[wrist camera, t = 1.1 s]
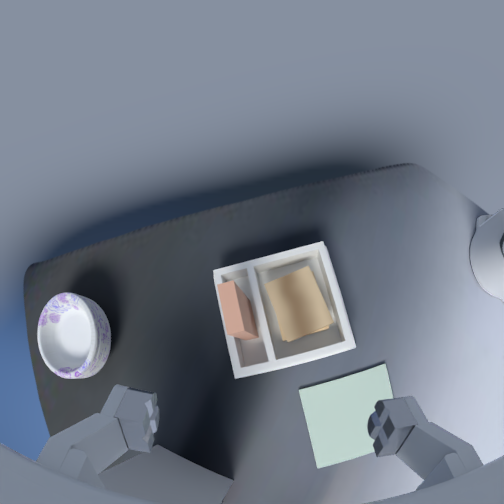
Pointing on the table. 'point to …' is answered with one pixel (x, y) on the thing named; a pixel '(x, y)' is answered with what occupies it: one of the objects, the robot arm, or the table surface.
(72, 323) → the paper bowls
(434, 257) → the table surface
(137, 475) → the brochure
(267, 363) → the white divided tray
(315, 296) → the offcut upper
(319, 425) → the sage mat
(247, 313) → the terracotta board
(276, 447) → the table surface
